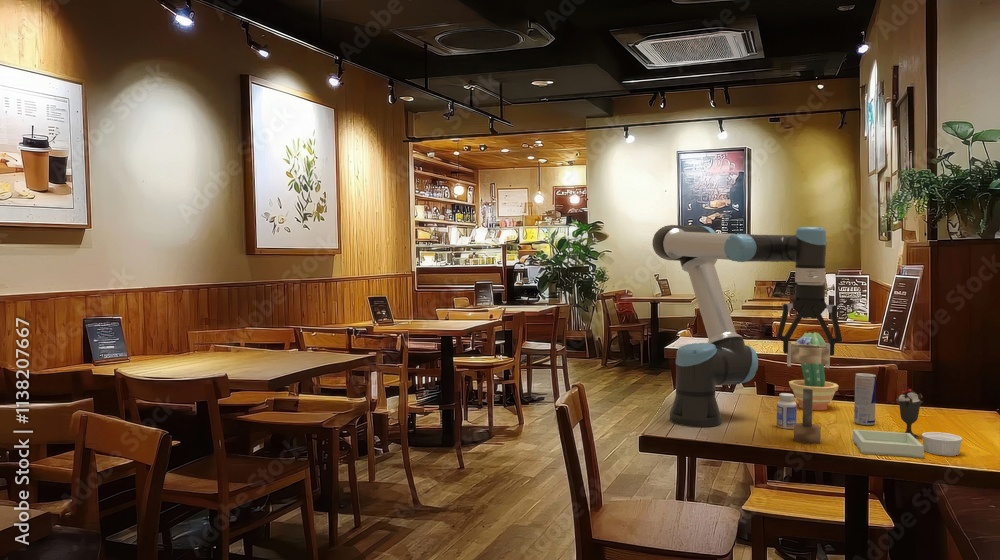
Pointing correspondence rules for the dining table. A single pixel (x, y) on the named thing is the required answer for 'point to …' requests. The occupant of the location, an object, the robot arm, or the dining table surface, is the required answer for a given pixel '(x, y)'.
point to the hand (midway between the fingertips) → (807, 366)
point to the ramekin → (941, 443)
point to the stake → (807, 422)
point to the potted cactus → (813, 378)
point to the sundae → (909, 408)
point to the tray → (888, 443)
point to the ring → (809, 354)
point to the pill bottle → (786, 411)
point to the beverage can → (865, 399)
